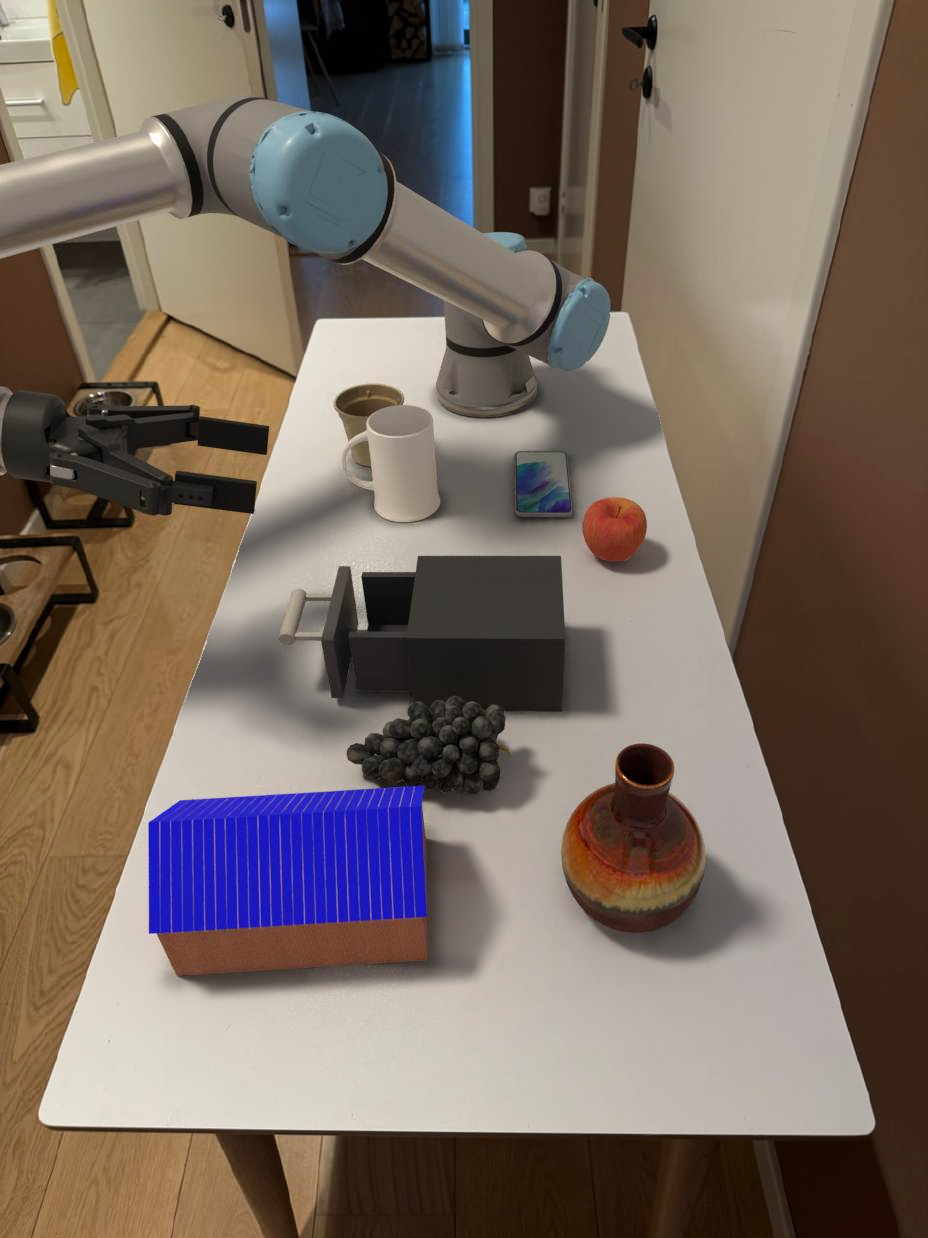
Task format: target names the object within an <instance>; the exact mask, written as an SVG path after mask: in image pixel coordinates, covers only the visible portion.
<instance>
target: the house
mask: <svg viewBox="0 0 928 1238" xmlns="http://www.w3.org/2000/svg"><path fill="white" fill-rule="evenodd" d="M424 791H425V788H424V786H422V785H418V786H410V787H408V786H396V787H394V786H393V787H380V788H363V789H344V790H332V791H331V790H329V791H312V792H311V791H310V792H296V793H295V792H294V793H279V794H278V793H277V794H262V795H261V794H260V795H245V796H244V795H243V796H230V797H229V796H227V797H226V796H225V797H210V798H195V799H180V800H178V801H177V802H175V803H174V804H172V805H171V806H170V807H168V808H167V809H165V810H164V811H162V812H161V813H160V814H158V815H157V816H156V817H155V818H153V819H152V820H149V821H148V822H147V823H148V830H147V831H148V848H147V849H148V935H149V934H150V935H152V934H156V936H157V938H158V940H159V942H160V944H161V946H162V949H163V950H164V952H165V953H164V954H165V955H166V957H167V959H168V961H169V963H170V965H171V968H172V969H173V971H174V973H175V976H176V977H179V976H194V975H195V976H196V975H210V974H211V975H213V974H228V973H243V972H260V971H274V970H275V971H276V970H292V969H293V970H294V969H308V968H323V967H324V968H325V967H340V966H355V965H357V966H359V965H372V964H373V965H374V964H388V963H389V964H391V963H402V962H419V961H420V962H421V961H429V952H428V951H429V949H428V948H429V944H428V894H427V891H428V889H427V888H428V887H427V885H428V884H427V837H426V829H425V819H424V809H423V798H424V793H425V792H424Z"/></svg>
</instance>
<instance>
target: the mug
mask: <svg viewBox="0 0 928 1238" xmlns="http://www.w3.org/2000/svg"><path fill="white" fill-rule="evenodd" d="M366 425H367V430H366V431H365V432H362V433H360V434H358V435H356V436H355V437H353V438H352V439H351V440H350V441H349V442H348V441H347V443H346V445H345V446H344V449H343V451H342V455H341V465H342V469H343V472H344V474H345V476H346V477H347V478H348V479H349V480H350V481H351V482H352V483H353V484H355V485H356V486H358V487H360V488H363V489H366V490H370V491H373V492H374V501H373V508H374V511H375V512H376V513H377V514H378V515H379V516H380V517H381V518H383V519H385V520H387V521H391V522H395V523H413V522H418V521H422V520H424V519H427V518H428V517H430V516H433V514H435V513H436V512H437V510H438V509H439V508H440V505H441V496H440V493H439V489H438V477H437V476H438V473H437V459H436V443H435V431H434V417H433V414H431V412H429V410H427V409H425V408H422V407H420V406H416V405H410V404H409V405H408V404H403V405H396V406H390V407H386V408H383V409H380V410H378V411H376V412H374V413H373V414H372V415H370V416H369V418H368V419H367V423H366ZM362 441H368V443H369V451H370V459H371V467H370V468H371V477H372V480H363V479H360V478H358V477H356V476H354V475H353V474H352V473H351V472H350V470H349V468H348V466H347V456H348V454H349V452H350V451H351V448H352V447H353V446H354V445H355V444H357V443H359V442H362Z"/></svg>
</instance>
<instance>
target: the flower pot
mask: <svg viewBox="0 0 928 1238" xmlns="http://www.w3.org/2000/svg"><path fill="white" fill-rule="evenodd" d="M404 403H405V395H404V393H403V392H402V390H401V389H399V388H397V387H395V386H392V385H389V384H384V383H375V382H374V383H370V382H369V383H362V384H357V385H352V386H349V387H348V388H345V389H343V390H342V391H340V392H339V393H338V394H337V395H335V397H334V399H333V408H334V411H336V413H337V414H338V417H339V418H340V420H341V422H342V425H343V428H344V432H345V435H346V438H347V443H348V442H349V441H350V440H351V439H352V438H353V437H355V436H356V435H358V434H360V433H362V432H365V431H366V430H367V425H366V423H367V419H368V418H369V416H370V415H372V414H373V413H374V412H376V411H378V410H380V409H383V408H386V407H390V406H396V405H404ZM350 452H351V457H352V458H353V460H354V462H355V463H356V464H358V465H361V466H364V467H370V468H371V459H370V451H369V443H368V441H362V442H359V443H357V444H355V445H354V446H353V447H352V448H351V449H350Z"/></svg>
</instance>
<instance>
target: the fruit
mask: <svg viewBox="0 0 928 1238" xmlns="http://www.w3.org/2000/svg"><path fill="white" fill-rule="evenodd" d="M407 717H408V719H404V718H400V717H397V718H394V719H393V720H390V721H388V722H386V723H385V725H383V726H384V727H383V728H382V734H381V733H378V732H370V733H368V735H367V736H366V737H365V738H364V744H363V743H357V742H355V743H353V744H352V743H351V744H350V745H349V746H348V747H347V749H346V753H345V755H346V758H347V761H348V762H351V763H352V764H354V765H360V768H361V773H363V775H364V776H365V777H367V778H370V779H372V780H375V781H376V780H379V779H382V778H383V779H385V780H389V781H391V782H393V783H400V782H403V784H404V785H405V786H406V787H410V786H420V783H421V786H424V790H425V789H426V790H428V791H429V790H431V791H433V790H435V789H436V788H438V790H439V791H441V792H442V793H445V794H448V793H451V792H452V791H453V792H455V793H457V794H460V795H461V794H466V793H467V794H469V795H475V796H476V795H479V794H480V793H481V791H482V790H483V791H487V792H491V791H493V790H496V789H497V787H498V785H499V783H500V780H501V768H500V765H499V762H498V759H499V758H500V751H502V752H504V753H506V754H509V755H512V752H511V750H510V749H509V748H507V747H505V746H504V745H503V744H499V743H497V741H498V737H499V735H500V734H502V733H503V732H504V730H505V728H506V716H505V711H504V710H503V708H502V707H501V706H499V705H496V704H491V705H490V706H489V707H488V708H487V709H486V710H483V709H482V708H481V706H480V704H478V703H476V702H474V701H471V702H467V703H466V702H465V700H464V699H463V698H462V697H459V696H452V697H450V698H448V700H447V701H446V702H444V701H441V700H436V701H434V702H433V703H431V706H430V708H429V710H428V708H427V706H426V705H425V704H424V703H423V702H413V701H412V703H411V704H409V705H408V708H407Z"/></svg>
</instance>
